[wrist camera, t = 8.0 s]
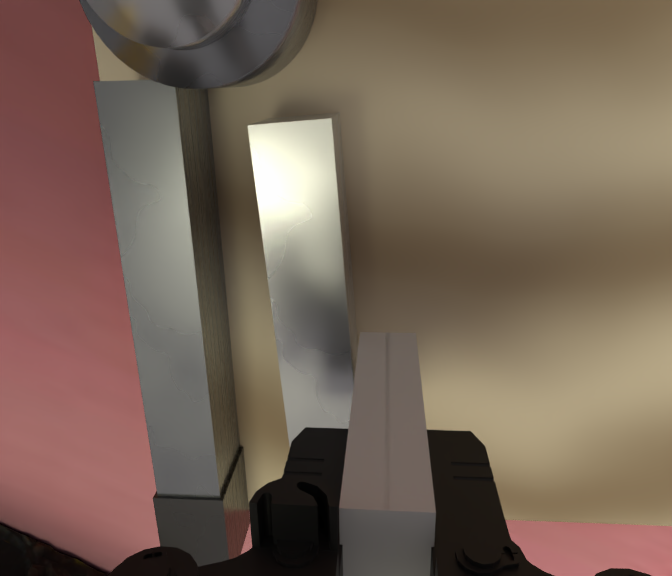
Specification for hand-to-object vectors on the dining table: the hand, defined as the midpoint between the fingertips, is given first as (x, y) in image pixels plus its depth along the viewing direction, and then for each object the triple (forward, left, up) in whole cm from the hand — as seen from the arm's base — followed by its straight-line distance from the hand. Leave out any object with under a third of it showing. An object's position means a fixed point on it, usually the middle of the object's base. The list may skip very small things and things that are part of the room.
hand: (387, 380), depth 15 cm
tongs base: (-3, -4, -2) cm, 5 cm away
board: (-3, +1, -3) cm, 5 cm away
